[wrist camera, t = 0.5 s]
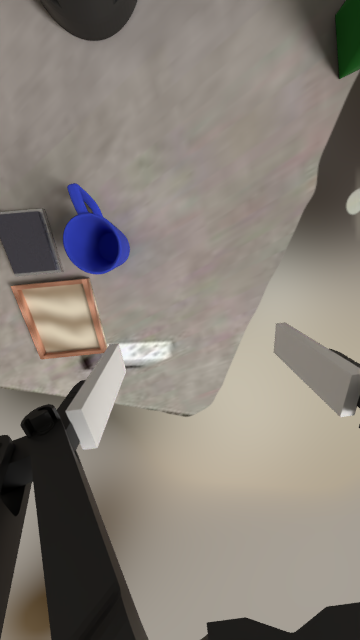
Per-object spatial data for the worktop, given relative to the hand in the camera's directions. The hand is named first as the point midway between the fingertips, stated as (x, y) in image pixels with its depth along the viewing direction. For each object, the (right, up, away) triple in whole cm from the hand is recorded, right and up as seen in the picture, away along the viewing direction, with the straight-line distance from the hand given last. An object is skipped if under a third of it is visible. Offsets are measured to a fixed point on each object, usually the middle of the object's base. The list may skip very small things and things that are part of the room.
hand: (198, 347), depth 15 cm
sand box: (-27, +3, +25) cm, 36 cm away
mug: (-15, +18, +20) cm, 31 cm away
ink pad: (-30, +17, +19) cm, 39 cm away
